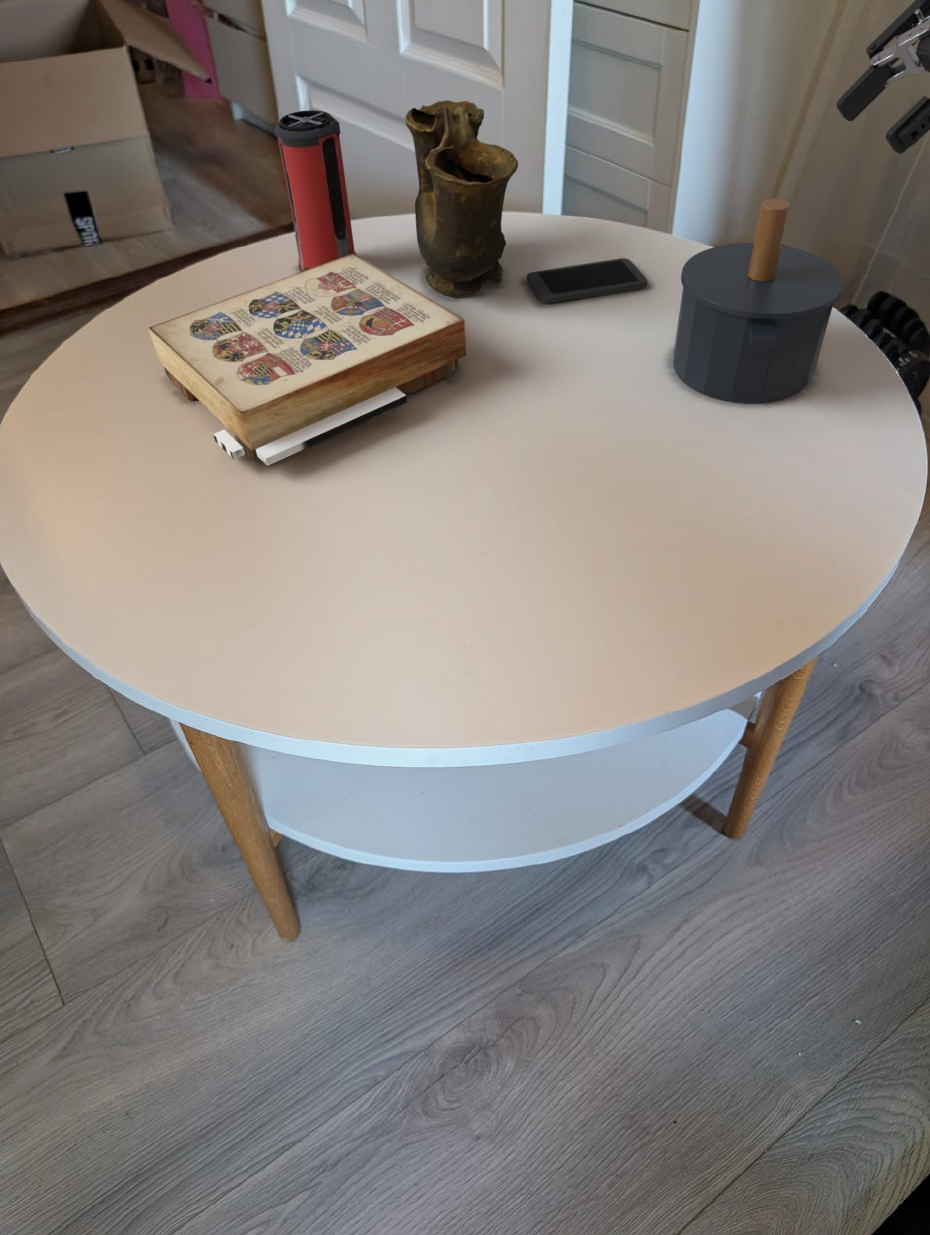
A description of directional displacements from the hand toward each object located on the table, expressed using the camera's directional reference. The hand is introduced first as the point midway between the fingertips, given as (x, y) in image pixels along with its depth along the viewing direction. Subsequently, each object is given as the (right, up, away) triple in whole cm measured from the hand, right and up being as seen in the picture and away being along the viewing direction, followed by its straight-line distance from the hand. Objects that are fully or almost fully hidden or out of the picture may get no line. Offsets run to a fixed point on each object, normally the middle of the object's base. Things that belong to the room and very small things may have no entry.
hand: (866, 129), depth 75 cm
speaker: (-52, +4, +41) cm, 67 cm away
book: (-51, -16, +21) cm, 58 cm away
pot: (-4, -14, +20) cm, 25 cm away
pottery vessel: (-35, +2, +38) cm, 51 cm away
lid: (-5, -8, +13) cm, 16 cm away
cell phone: (-19, 0, +35) cm, 40 cm away
